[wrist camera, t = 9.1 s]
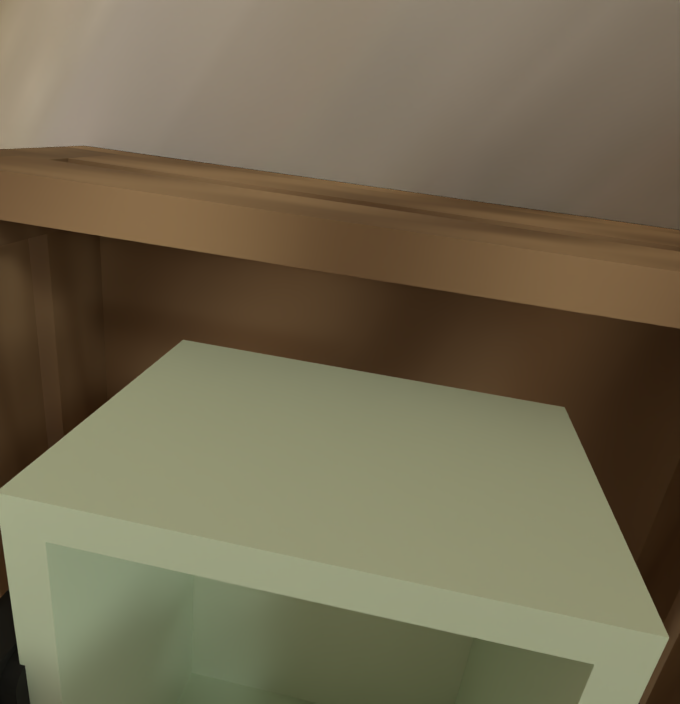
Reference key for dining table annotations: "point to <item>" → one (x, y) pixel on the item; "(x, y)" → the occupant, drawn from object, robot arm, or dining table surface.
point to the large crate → (346, 311)
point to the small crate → (320, 546)
